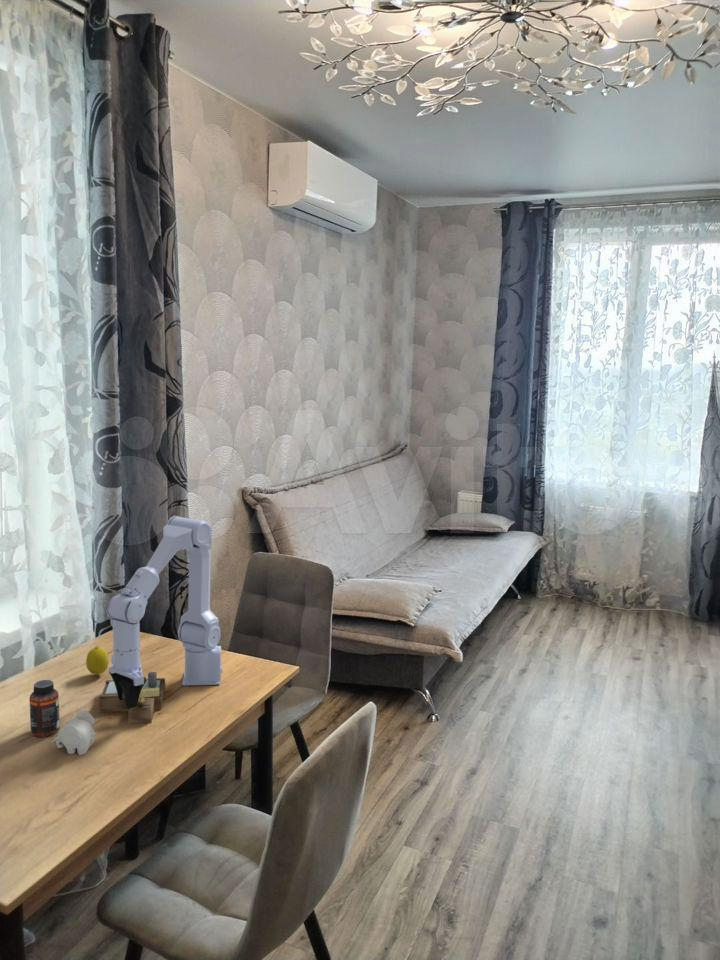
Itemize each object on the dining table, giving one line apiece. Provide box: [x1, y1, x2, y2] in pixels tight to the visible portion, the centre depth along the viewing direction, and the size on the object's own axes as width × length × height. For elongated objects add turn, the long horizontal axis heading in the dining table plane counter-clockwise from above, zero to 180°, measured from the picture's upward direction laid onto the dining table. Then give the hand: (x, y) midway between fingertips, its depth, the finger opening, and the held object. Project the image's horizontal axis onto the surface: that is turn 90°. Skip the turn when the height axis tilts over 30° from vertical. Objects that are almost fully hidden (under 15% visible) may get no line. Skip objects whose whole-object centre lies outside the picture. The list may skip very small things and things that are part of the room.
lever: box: [122, 688, 159, 706], centre depth 169 cm, size 8×2×4 cm, turn 103°
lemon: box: [85, 646, 110, 677], centre depth 190 cm, size 6×6×8 cm
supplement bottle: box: [29, 679, 61, 738], centre depth 162 cm, size 6×6×11 cm
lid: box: [105, 671, 160, 695], centre depth 177 cm, size 12×6×4 cm, turn 99°
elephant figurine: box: [49, 710, 98, 756], centre depth 155 cm, size 8×10×7 cm
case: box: [98, 677, 166, 724], centre depth 175 cm, size 14×16×4 cm
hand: (127, 702), depth 168 cm, fingers open, 4 cm apart
